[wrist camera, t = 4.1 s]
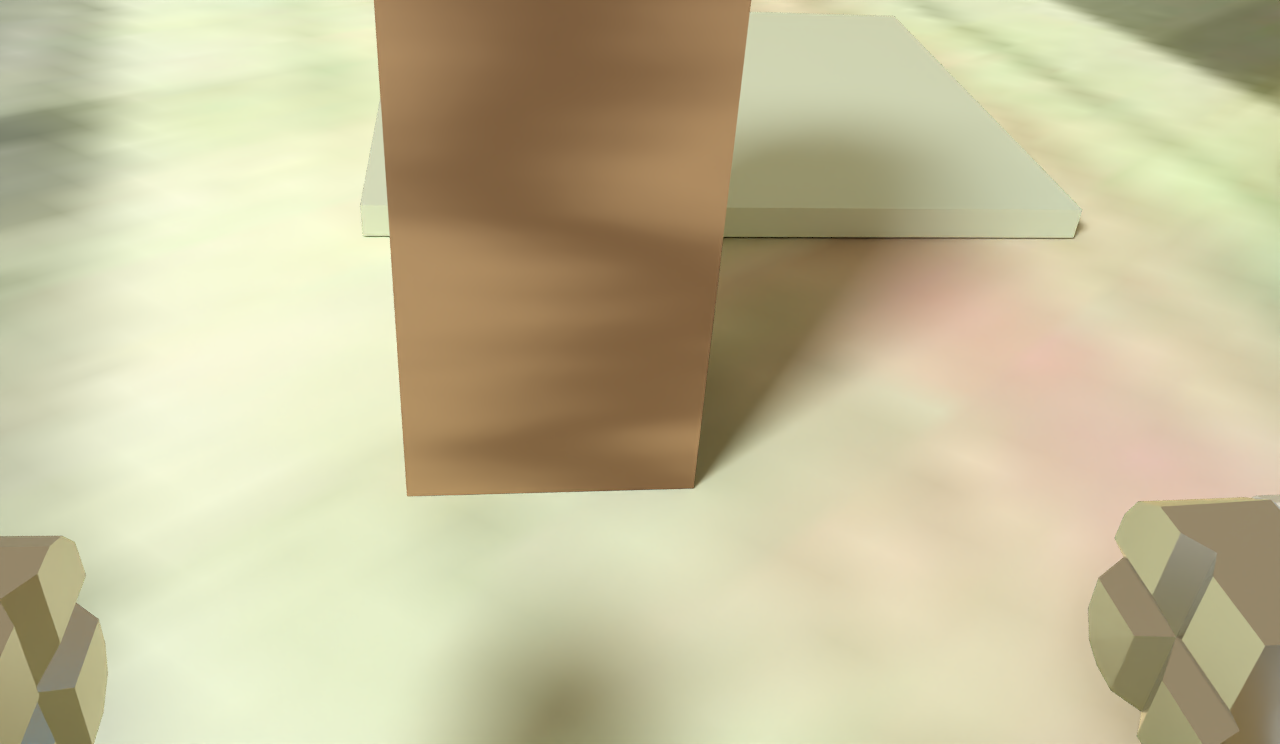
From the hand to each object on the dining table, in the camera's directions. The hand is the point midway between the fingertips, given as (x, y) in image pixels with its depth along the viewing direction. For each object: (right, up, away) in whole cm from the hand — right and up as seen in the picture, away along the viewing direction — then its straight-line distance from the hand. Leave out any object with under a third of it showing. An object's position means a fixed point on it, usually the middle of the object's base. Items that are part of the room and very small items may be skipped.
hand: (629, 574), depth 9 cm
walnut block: (-2, +1, +13) cm, 13 cm away
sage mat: (+1, +9, +26) cm, 28 cm away
